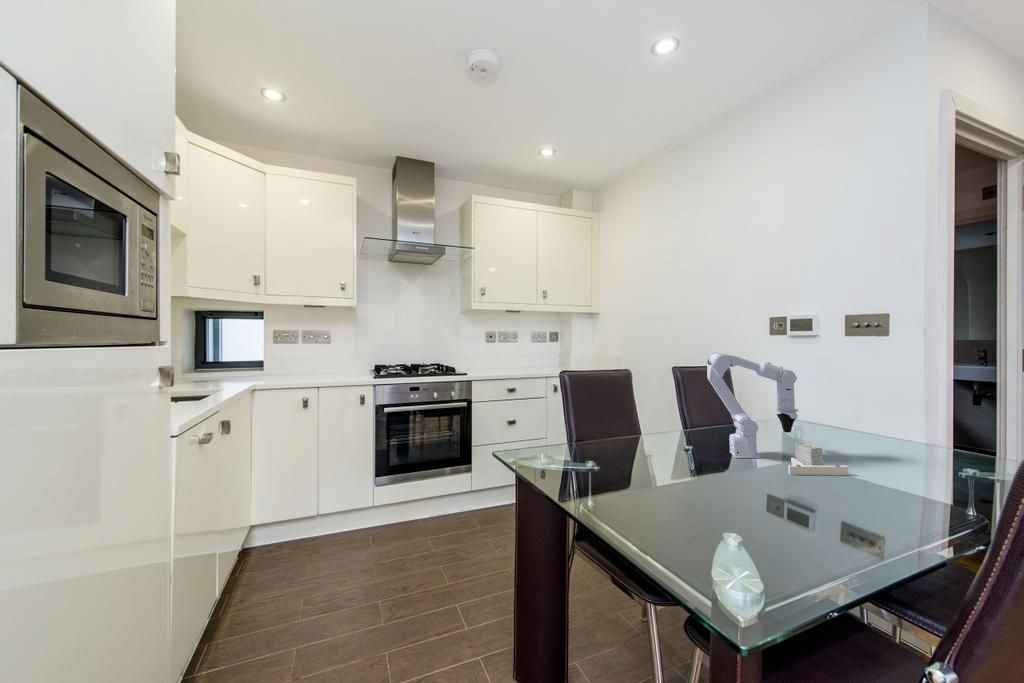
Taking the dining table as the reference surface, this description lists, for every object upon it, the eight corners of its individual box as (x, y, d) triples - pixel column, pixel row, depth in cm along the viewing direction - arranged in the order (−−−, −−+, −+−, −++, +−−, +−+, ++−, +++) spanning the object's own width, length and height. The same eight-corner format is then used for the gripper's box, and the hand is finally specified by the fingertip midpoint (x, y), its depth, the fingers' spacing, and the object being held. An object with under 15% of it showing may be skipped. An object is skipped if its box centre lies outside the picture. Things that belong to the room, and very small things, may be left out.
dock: (790, 474, 141) (789, 465, 141) (776, 464, 151) (776, 455, 151) (848, 475, 137) (848, 466, 137) (830, 464, 148) (830, 455, 147)
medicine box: (823, 471, 142) (822, 447, 141) (811, 472, 142) (810, 448, 141) (806, 463, 150) (805, 441, 149) (795, 464, 150) (794, 442, 149)
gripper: (805, 402, 151) (807, 437, 152) (789, 395, 165) (790, 427, 166) (785, 402, 153) (786, 437, 153) (770, 395, 167) (771, 427, 167)
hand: (787, 432), depth 160 cm, fingers closed
